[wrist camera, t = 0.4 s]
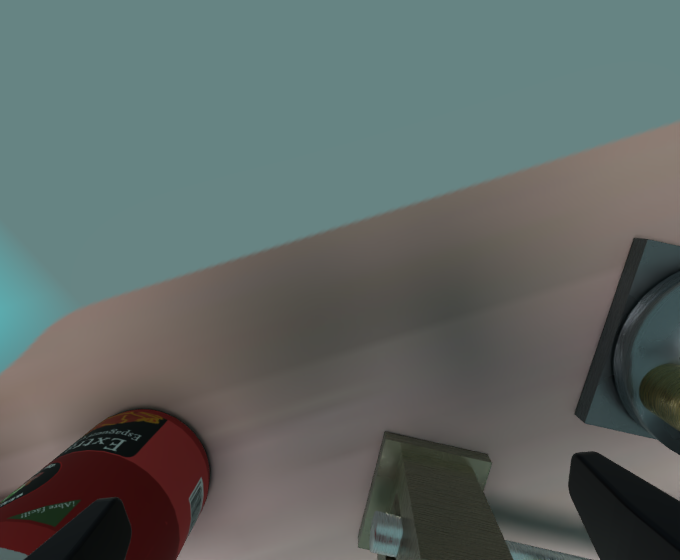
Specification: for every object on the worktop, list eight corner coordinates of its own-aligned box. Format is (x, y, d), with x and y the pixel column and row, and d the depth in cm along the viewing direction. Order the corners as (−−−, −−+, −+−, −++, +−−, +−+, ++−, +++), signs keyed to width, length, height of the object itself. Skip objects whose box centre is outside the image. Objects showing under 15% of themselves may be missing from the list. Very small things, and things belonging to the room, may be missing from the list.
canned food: (165, 381, 24) (2, 523, 13) (240, 491, 25) (147, 710, 14) (62, 441, 25) (-173, 622, 14) (138, 545, 25) (-26, 791, 15)
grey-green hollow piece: (455, 558, 25) (501, 721, 17) (358, 536, 25) (358, 688, 17) (487, 454, 23) (553, 576, 16) (384, 431, 24) (398, 541, 16)
